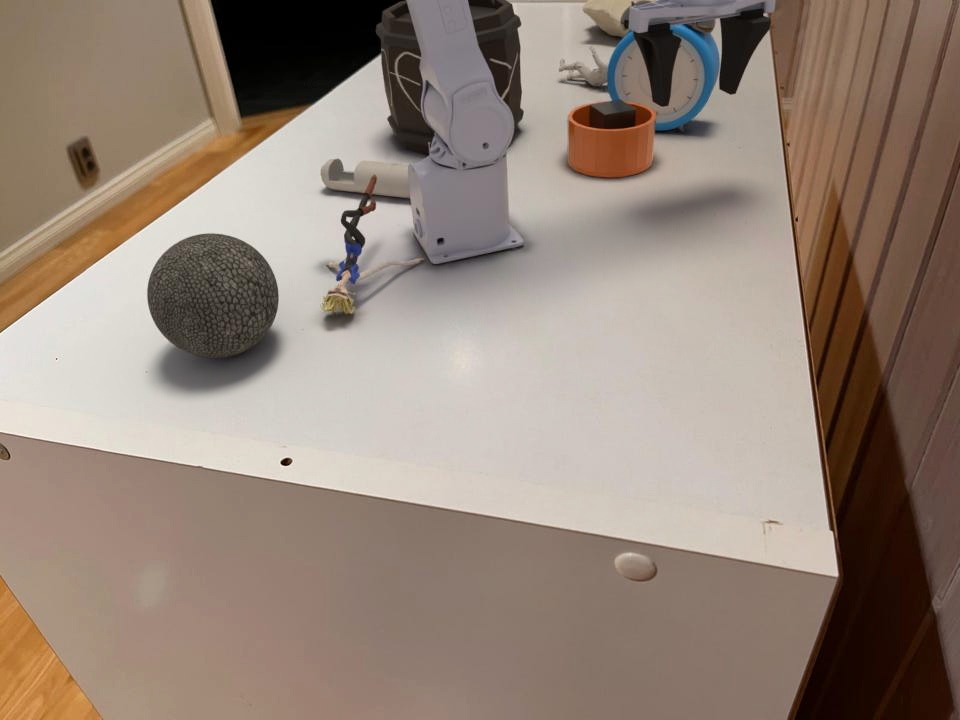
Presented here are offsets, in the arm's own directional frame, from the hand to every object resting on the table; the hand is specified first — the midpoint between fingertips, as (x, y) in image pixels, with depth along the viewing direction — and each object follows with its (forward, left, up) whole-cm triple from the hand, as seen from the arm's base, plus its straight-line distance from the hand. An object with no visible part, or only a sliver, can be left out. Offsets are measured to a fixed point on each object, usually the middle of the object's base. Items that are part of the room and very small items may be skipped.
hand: (694, 97), depth 78 cm
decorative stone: (+26, +65, -11) cm, 71 cm away
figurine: (-37, -4, -11) cm, 39 cm away
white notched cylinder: (-29, +14, -11) cm, 34 cm away
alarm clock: (+8, +20, -11) cm, 24 cm away
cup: (-3, +12, -10) cm, 16 cm away
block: (-3, +12, -10) cm, 16 cm away
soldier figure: (+8, +39, -11) cm, 41 cm away
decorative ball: (-49, -10, -11) cm, 51 cm away
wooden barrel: (-17, +29, -11) cm, 35 cm away
